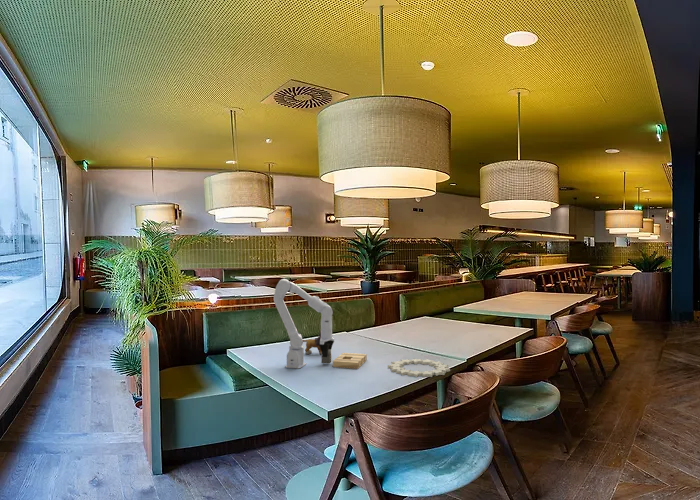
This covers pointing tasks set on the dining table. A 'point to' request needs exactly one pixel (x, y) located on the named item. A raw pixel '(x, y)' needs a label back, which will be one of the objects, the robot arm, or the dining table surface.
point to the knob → (328, 358)
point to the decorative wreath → (439, 370)
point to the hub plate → (349, 360)
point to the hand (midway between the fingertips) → (326, 355)
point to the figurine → (313, 344)
